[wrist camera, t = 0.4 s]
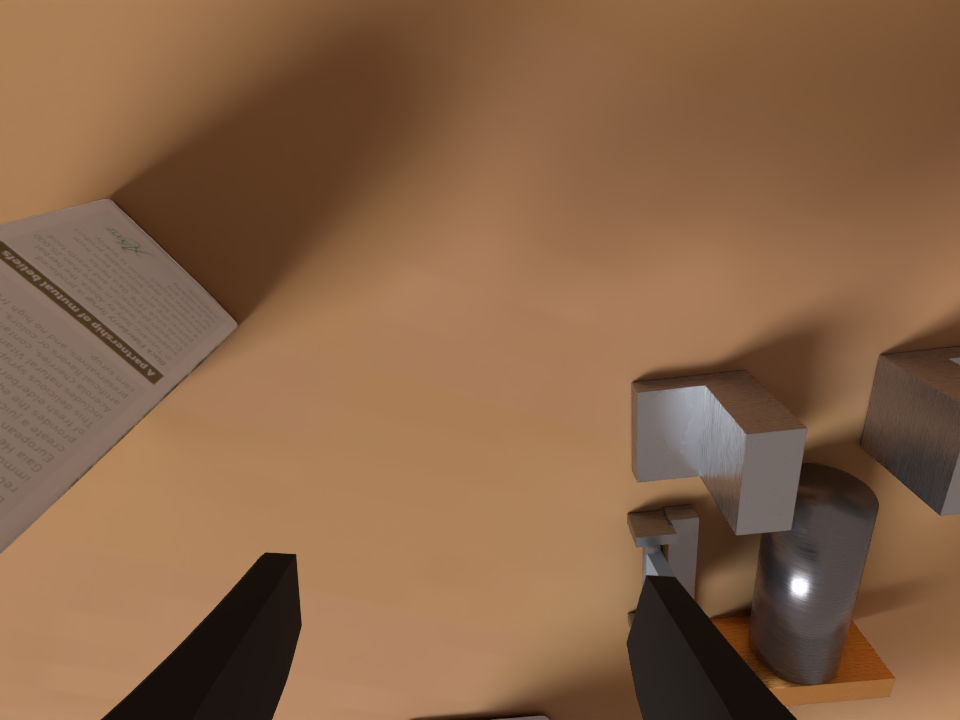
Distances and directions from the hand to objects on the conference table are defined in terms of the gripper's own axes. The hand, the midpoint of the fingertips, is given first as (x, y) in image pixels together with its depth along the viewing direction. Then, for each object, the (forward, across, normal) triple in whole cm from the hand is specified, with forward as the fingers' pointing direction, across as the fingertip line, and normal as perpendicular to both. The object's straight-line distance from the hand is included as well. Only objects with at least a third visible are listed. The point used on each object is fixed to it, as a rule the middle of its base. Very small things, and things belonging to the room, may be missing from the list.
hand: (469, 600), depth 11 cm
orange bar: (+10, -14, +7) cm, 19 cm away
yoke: (+10, -13, 0) cm, 16 cm away
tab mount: (+10, -10, +8) cm, 16 cm away
